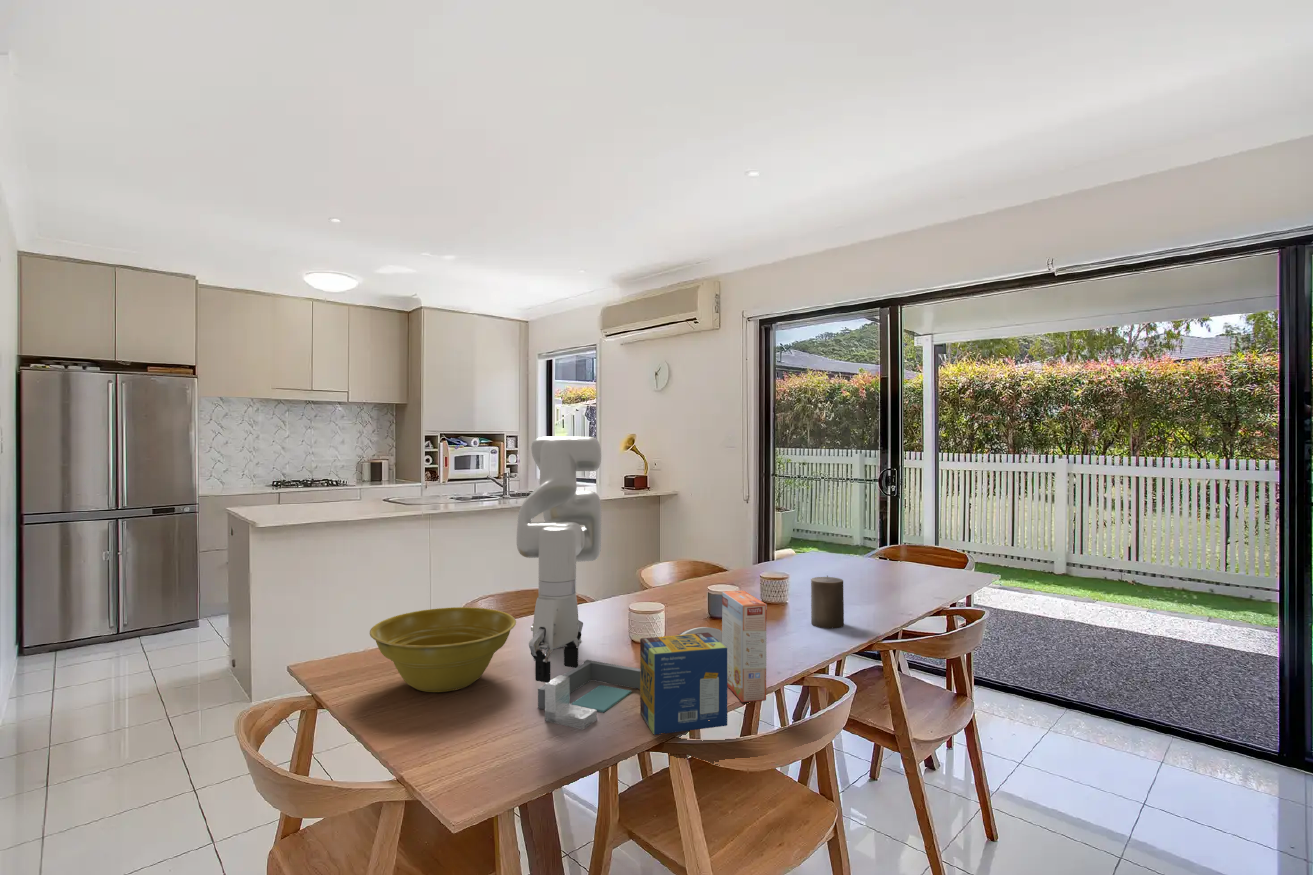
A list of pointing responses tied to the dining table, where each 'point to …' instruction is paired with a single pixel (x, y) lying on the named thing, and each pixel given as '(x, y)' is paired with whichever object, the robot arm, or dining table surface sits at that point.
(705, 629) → the white black slab
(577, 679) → the corner walls
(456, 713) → the dining table surface
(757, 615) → the cracker box
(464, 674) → the planter bowl
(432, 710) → the dining table surface
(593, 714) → the grey l-shaped block
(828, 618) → the pillar candle
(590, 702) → the mat
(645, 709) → the protein box
